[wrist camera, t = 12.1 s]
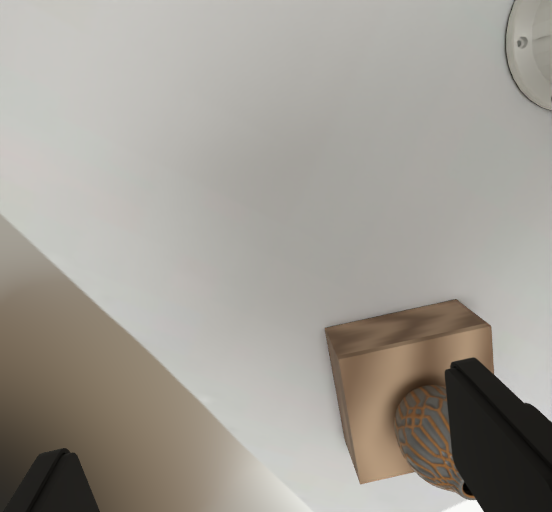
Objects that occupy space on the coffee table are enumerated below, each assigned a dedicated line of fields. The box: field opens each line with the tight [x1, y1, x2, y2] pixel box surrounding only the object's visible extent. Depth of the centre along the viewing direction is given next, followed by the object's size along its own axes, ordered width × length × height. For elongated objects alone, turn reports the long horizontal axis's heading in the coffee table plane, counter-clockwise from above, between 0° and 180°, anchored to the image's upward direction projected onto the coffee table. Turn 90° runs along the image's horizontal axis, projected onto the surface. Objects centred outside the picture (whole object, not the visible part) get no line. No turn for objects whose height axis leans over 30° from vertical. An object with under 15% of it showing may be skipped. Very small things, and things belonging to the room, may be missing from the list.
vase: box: [394, 385, 476, 500], centre depth 33 cm, size 7×7×9 cm
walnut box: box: [325, 299, 494, 484], centre depth 40 cm, size 13×13×6 cm
